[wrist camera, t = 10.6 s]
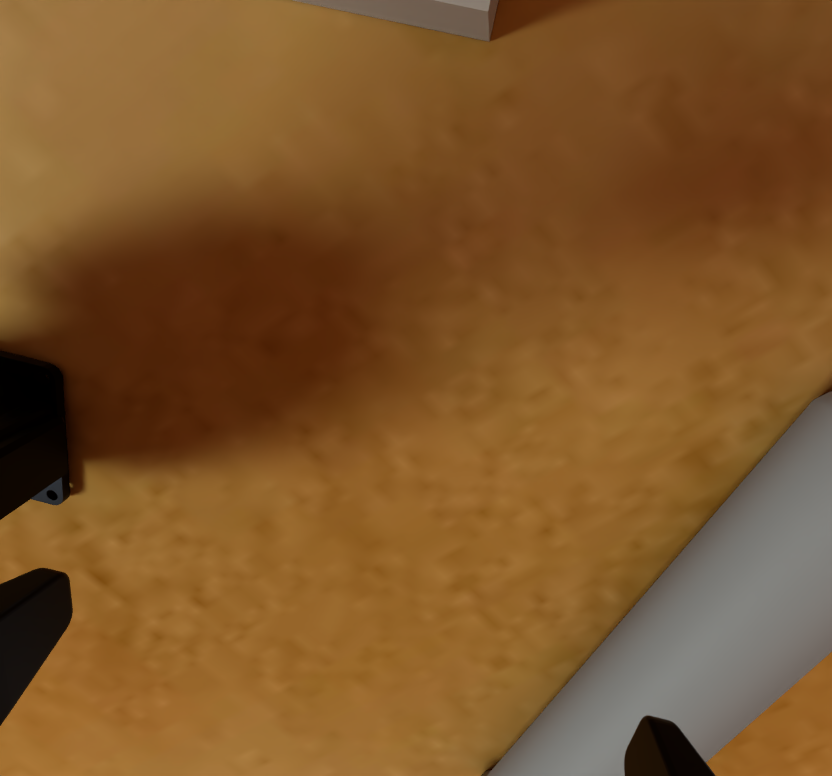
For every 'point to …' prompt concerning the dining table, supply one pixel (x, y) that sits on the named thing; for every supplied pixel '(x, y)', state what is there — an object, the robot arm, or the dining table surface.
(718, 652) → the tube
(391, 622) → the dining table surface
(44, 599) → the robot arm
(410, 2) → the white square frame
